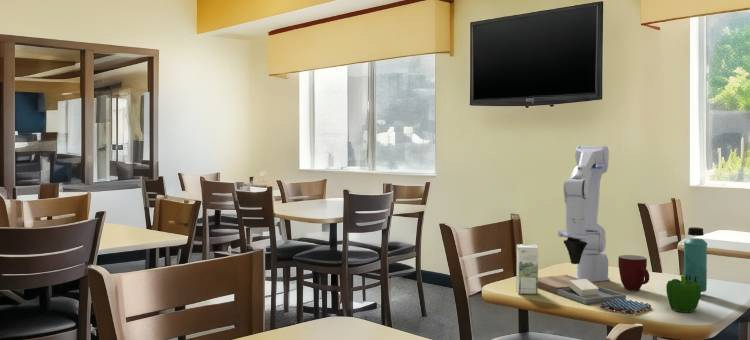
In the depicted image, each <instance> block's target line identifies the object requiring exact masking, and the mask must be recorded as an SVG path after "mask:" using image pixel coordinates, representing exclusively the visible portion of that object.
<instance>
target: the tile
mask: <svg viewBox="0 0 750 340" xmlns="http://www.w3.org/2000/svg"><path fill="white" fill-rule="evenodd" d="M592 283H593V282H590V281H588V280H587V279H578V280H570V281H569V287H570V288H571V289H572V290H574V291H575V292H576V293H577V294H579V295H580V296H587V295H596V294H598V290H599V288H598V287H596V286H597V285H596V284H595V285H596V286H595V285H594V284H592Z"/></svg>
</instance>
